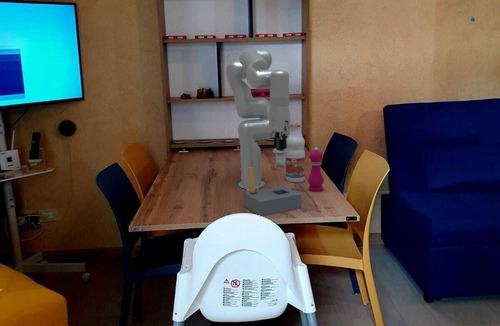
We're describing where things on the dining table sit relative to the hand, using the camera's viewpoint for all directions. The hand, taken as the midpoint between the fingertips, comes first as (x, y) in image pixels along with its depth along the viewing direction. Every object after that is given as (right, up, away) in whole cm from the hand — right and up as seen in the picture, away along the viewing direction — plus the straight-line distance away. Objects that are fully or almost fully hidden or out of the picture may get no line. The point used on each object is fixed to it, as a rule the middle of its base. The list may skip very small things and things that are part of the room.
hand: (280, 147), depth 196 cm
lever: (-11, -13, +2) cm, 18 cm away
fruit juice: (+10, -15, +44) cm, 47 cm away
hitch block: (-3, -25, +4) cm, 25 cm away
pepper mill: (+18, -19, +27) cm, 37 cm away
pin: (0, -7, +2) cm, 8 cm away
